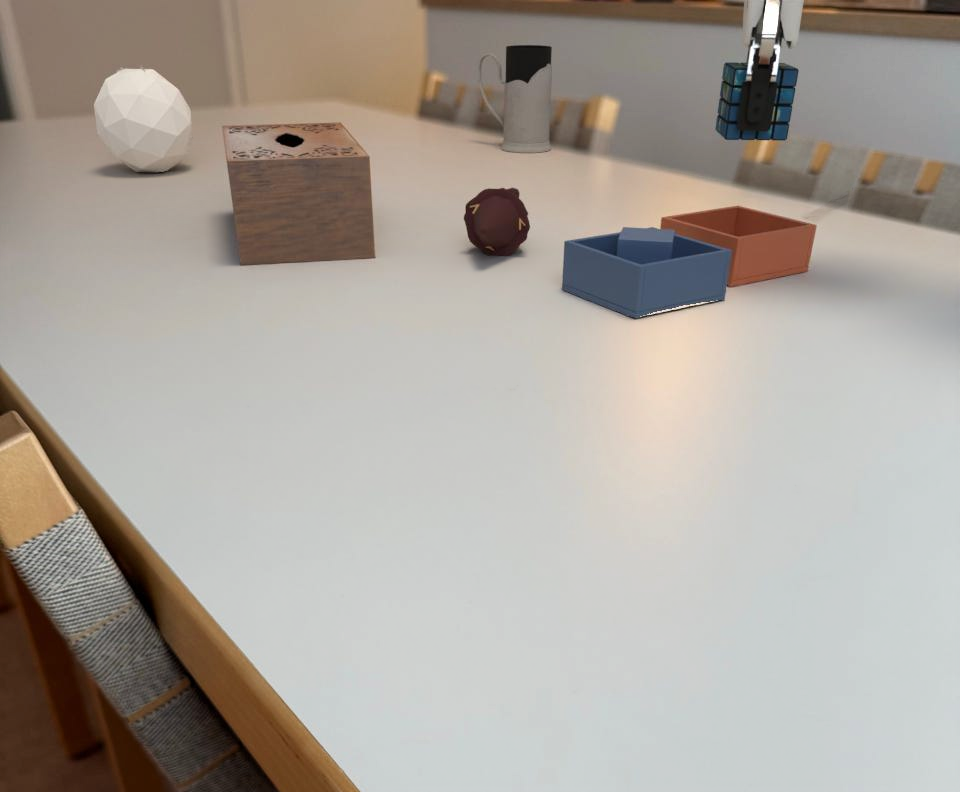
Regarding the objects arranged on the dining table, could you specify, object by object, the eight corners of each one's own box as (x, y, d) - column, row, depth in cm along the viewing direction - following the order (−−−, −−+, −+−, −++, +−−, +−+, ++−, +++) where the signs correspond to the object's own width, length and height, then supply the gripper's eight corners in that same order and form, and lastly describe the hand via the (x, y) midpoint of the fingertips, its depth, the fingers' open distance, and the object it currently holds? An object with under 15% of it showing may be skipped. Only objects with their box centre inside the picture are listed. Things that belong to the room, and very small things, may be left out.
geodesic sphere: (59, 126, 144) (77, 39, 133) (136, 116, 153) (159, 34, 142) (123, 201, 143) (146, 120, 133) (197, 186, 153) (224, 109, 142)
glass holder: (535, 154, 160) (538, 49, 152) (464, 146, 167) (464, 45, 158) (560, 147, 166) (565, 46, 158) (491, 140, 173) (492, 42, 164)
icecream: (527, 207, 96) (549, 192, 109) (457, 183, 96) (488, 171, 109) (507, 276, 100) (531, 254, 112) (441, 253, 100) (472, 234, 113)
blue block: (618, 280, 95) (623, 226, 93) (669, 283, 95) (675, 229, 92) (613, 294, 91) (617, 238, 89) (666, 297, 91) (672, 241, 88)
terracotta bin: (731, 249, 108) (737, 205, 106) (807, 271, 101) (817, 224, 98) (656, 262, 103) (661, 217, 101) (730, 287, 96) (738, 238, 93)
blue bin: (647, 273, 100) (652, 226, 97) (724, 300, 92) (732, 250, 89) (561, 289, 95) (564, 240, 92) (635, 319, 87) (640, 266, 84)
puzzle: (714, 130, 97) (723, 62, 94) (774, 131, 97) (785, 62, 94) (724, 140, 92) (734, 68, 89) (787, 140, 92) (799, 68, 89)
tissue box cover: (233, 213, 122) (221, 125, 116) (346, 208, 125) (340, 122, 119) (240, 265, 102) (226, 161, 96) (375, 257, 105) (369, 156, 99)
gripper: (840, -111, 76) (795, 140, 87) (824, -100, 90) (787, 115, 101) (744, -110, 78) (711, 136, 88) (742, -100, 91) (714, 112, 102)
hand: (752, 123), depth 94 cm, fingers closed on puzzle, 6 cm apart
